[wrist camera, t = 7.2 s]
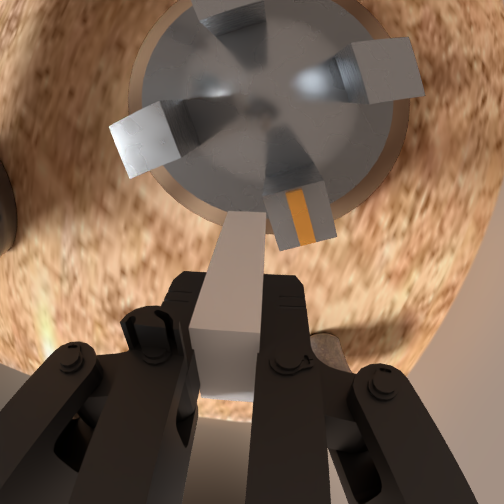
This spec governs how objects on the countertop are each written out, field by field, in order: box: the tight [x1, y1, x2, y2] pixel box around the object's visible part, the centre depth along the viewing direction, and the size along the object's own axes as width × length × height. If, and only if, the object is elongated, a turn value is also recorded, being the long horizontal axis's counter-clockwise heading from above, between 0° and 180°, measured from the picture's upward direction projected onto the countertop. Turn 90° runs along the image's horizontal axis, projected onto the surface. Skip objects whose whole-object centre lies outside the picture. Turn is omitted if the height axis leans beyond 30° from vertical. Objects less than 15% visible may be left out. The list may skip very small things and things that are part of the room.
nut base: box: [128, 0, 410, 234], centre depth 19 cm, size 20×20×2 cm
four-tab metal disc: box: [109, 0, 425, 251], centre depth 15 cm, size 15×15×7 cm
